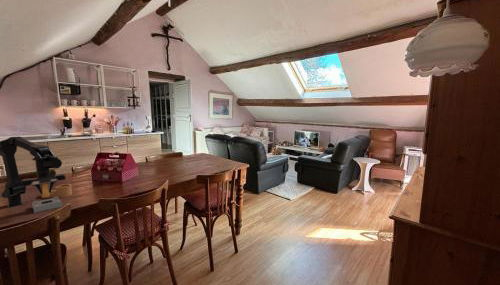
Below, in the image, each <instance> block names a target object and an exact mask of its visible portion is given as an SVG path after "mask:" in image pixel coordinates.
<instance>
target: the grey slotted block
mask: <svg viewBox="0 0 500 285" xmlns="http://www.w3.org/2000/svg"><path fill="white" fill-rule="evenodd" d="M60 198H61V197H55V198H45V199H42V200H34V201H32V209H33V213H34V214H37V213H40V212H44V211H49V210H50V211H51V210H53V209H57V208H58V209H59V208H62V207H63V203H62V200H61V199H60Z"/></svg>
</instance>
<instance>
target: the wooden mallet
mask: <svg viewBox="0 0 500 285" xmlns="http://www.w3.org/2000/svg"><path fill="white" fill-rule="evenodd" d="M54 188H55V189H51V193H50V196H49V197H46V198H45V199H51V198H55V197H59V198H66V197H69V195H70V196H71V195H73V190H72V189H73V188H72V184H71V183H65V184H64V183H63V184H60V185H59V184H58V185H57V186H55V187H54ZM39 194H40V198H41V199H44V198H43V197H42V195H41V193H40V192H39Z"/></svg>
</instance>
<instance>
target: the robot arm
mask: <svg viewBox="0 0 500 285" xmlns="http://www.w3.org/2000/svg"><path fill="white" fill-rule="evenodd" d="M18 147H19V148H20V149H23V150H26V151H28V152H29V154H30V155H31V156H32V157H33V158H32V159H31V161H34V162H35V168H36V171H35V172H36V178H35V179H32V178H30V177H29V178H24V179H21V178H20V175H19V169H18V167H17V166H18V165H17V161H16V158H15V155H16V153H17V151H18ZM0 156H1V157H2V161H3V166H4V171H5V176H6V178H7V181H6V183H5V184H4V191H3V192H2V193H1V197H2V198H4V199H7V208H13V207H17V206H22V205H24V202H23V200H22V195H25V194H26V190H27V186H31V185H32V187H36V188H37V190H38V191H39V194H40V193H41V194H40V196H41V195H42V189H41V186H40V184H42V183H49V193H51V190H53V186H54V184H55V183H57V182H58V181H64V180H66V174H64V173H59V174H58V173H57V174H56V173H55V172H51V169H55V170H57V169H60V168H61V167H62V166H63V162H62V160H61V159H59V157H58V156H56V155H55V153H54V152H53V151H52V150H51V148H50V147H49V146H47V145H43V144H38V143H37V144H36V143H34V142H32V141H29V140H27V139H25V138H23V137H22V136H10V137H8V138H6V139H3V140H0ZM57 180H58V181H57Z"/></svg>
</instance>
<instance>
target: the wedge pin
mask: <svg viewBox="0 0 500 285" xmlns="http://www.w3.org/2000/svg"><path fill="white" fill-rule="evenodd" d="M39 184H40V187H41V191H42V197H43V198H42V199H47V198H46V197H49V196H50V193H49V182H45V183H39Z"/></svg>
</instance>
